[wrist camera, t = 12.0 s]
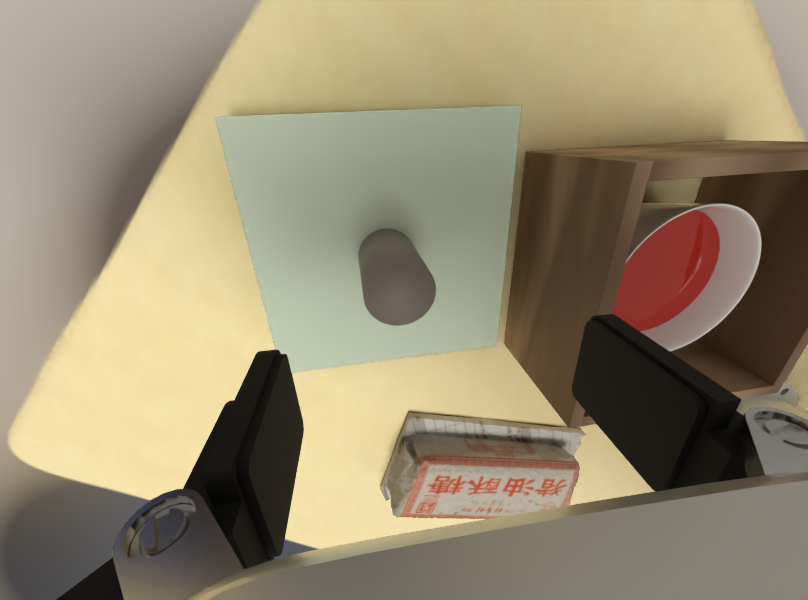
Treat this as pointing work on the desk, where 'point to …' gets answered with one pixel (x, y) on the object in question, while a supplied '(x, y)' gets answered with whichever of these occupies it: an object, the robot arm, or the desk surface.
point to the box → (609, 245)
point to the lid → (376, 228)
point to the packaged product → (479, 467)
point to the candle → (686, 269)
